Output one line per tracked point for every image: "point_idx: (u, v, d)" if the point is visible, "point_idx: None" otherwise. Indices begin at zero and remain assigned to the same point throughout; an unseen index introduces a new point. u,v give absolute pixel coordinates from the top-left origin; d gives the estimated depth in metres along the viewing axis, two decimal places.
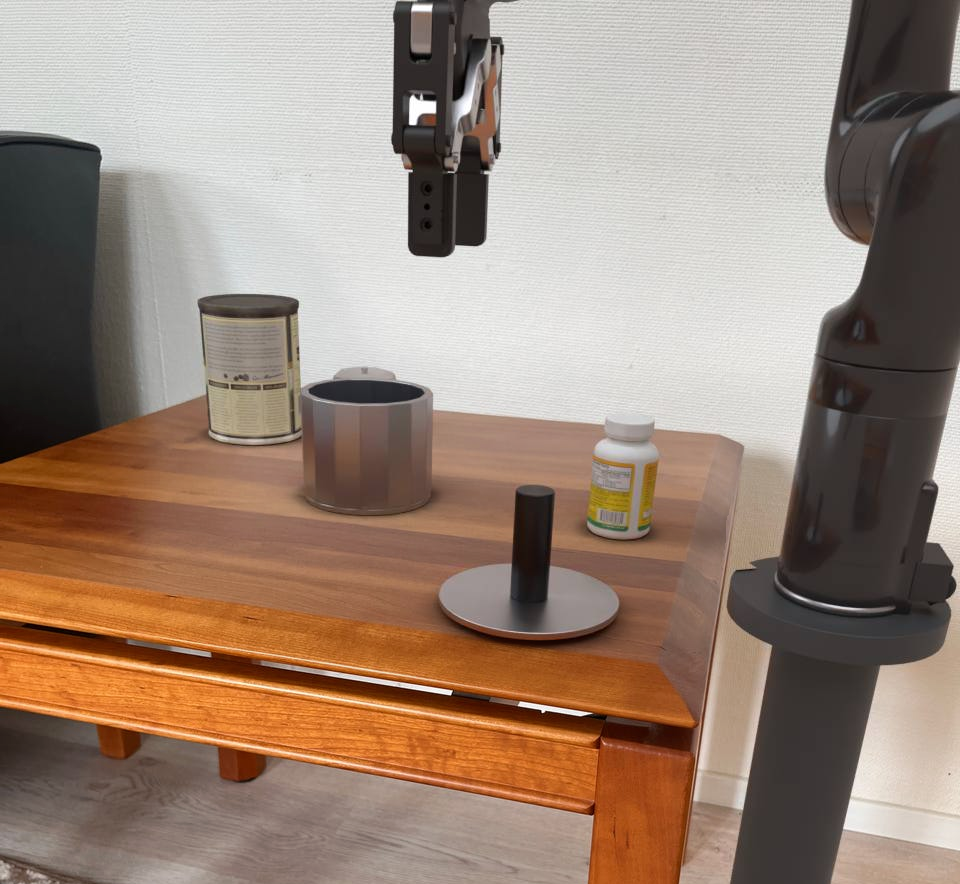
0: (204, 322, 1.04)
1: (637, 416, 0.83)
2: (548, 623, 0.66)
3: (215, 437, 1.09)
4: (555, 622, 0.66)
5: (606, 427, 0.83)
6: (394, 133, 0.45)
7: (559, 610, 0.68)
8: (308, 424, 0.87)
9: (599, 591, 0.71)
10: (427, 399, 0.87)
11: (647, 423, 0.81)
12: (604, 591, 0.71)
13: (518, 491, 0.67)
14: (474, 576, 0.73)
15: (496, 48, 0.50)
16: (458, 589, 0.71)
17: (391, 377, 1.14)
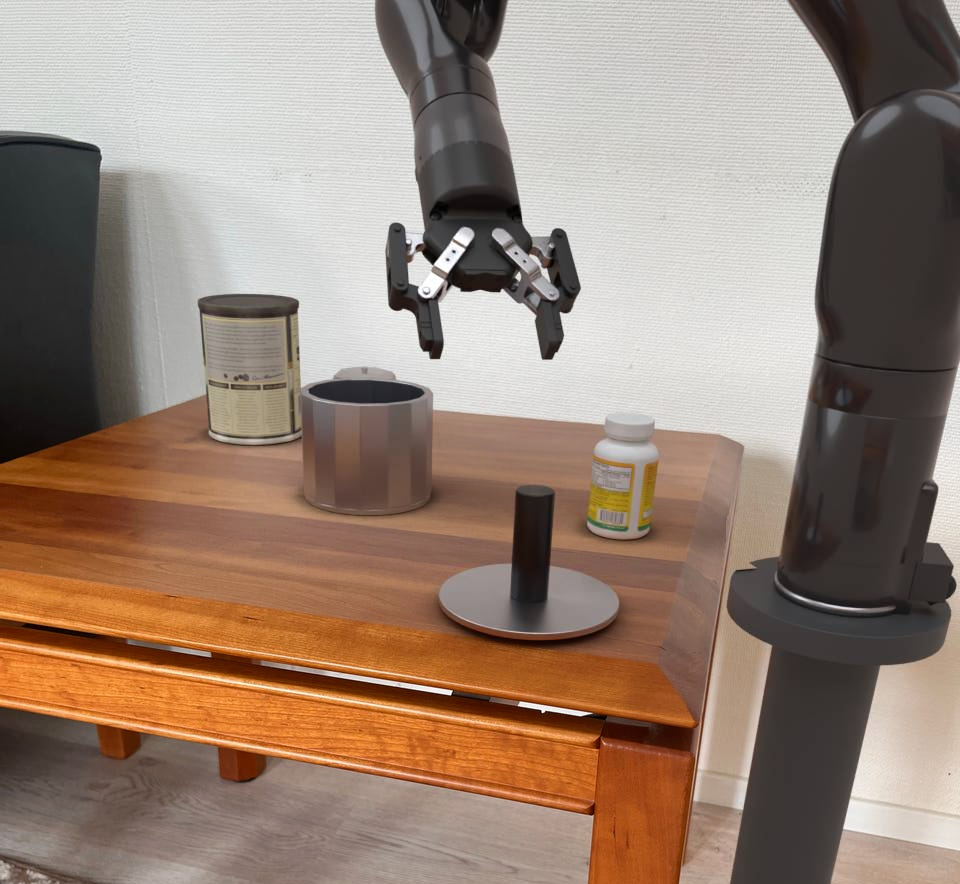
0: (204, 322, 1.04)
1: (637, 416, 0.83)
2: (548, 623, 0.66)
3: (215, 437, 1.09)
4: (555, 622, 0.66)
5: (606, 427, 0.83)
6: (388, 300, 0.75)
7: (559, 610, 0.68)
8: (308, 424, 0.87)
9: (599, 591, 0.71)
10: (427, 399, 0.87)
11: (647, 423, 0.81)
12: (604, 591, 0.71)
13: (518, 491, 0.67)
14: (474, 576, 0.73)
15: (493, 230, 0.75)
16: (458, 589, 0.71)
17: (391, 377, 1.14)
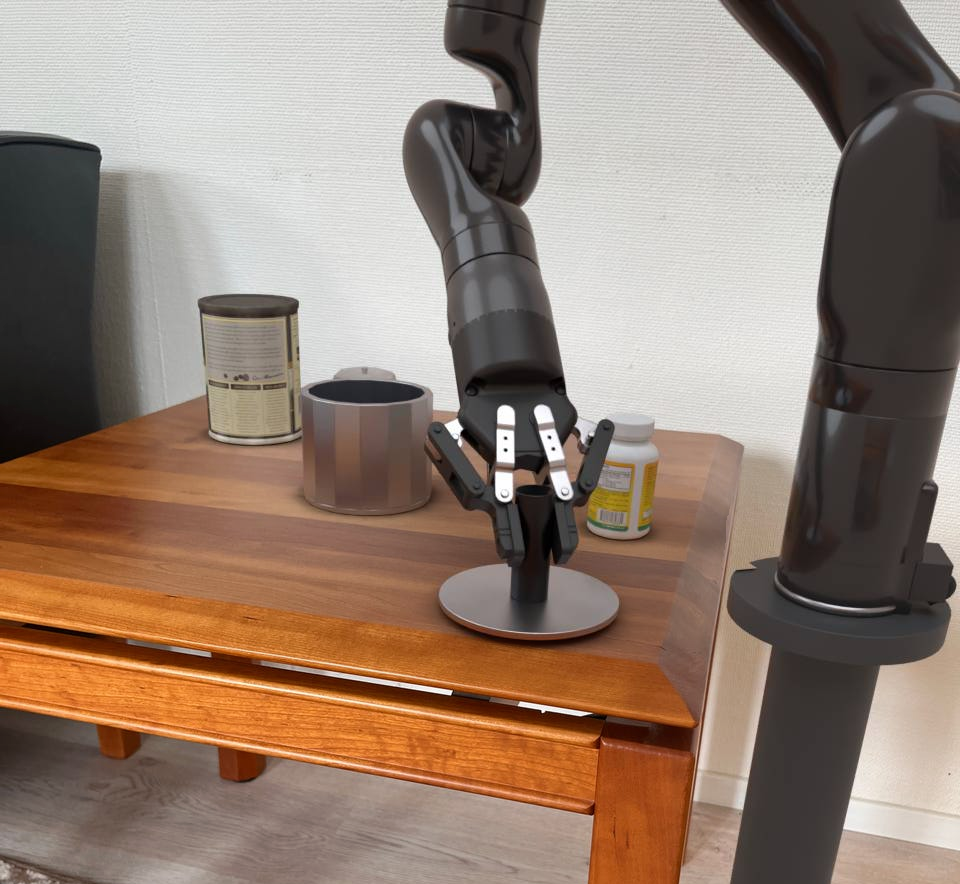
0: (204, 322, 1.04)
1: (637, 416, 0.83)
2: (548, 623, 0.66)
3: (215, 437, 1.09)
4: (555, 622, 0.66)
5: None
6: (461, 504, 0.68)
7: (559, 610, 0.68)
8: (308, 424, 0.87)
9: (599, 591, 0.71)
10: (427, 399, 0.87)
11: (647, 423, 0.81)
12: (604, 591, 0.71)
13: (518, 491, 0.67)
14: (474, 576, 0.73)
15: (538, 405, 0.69)
16: (458, 589, 0.71)
17: (391, 377, 1.14)
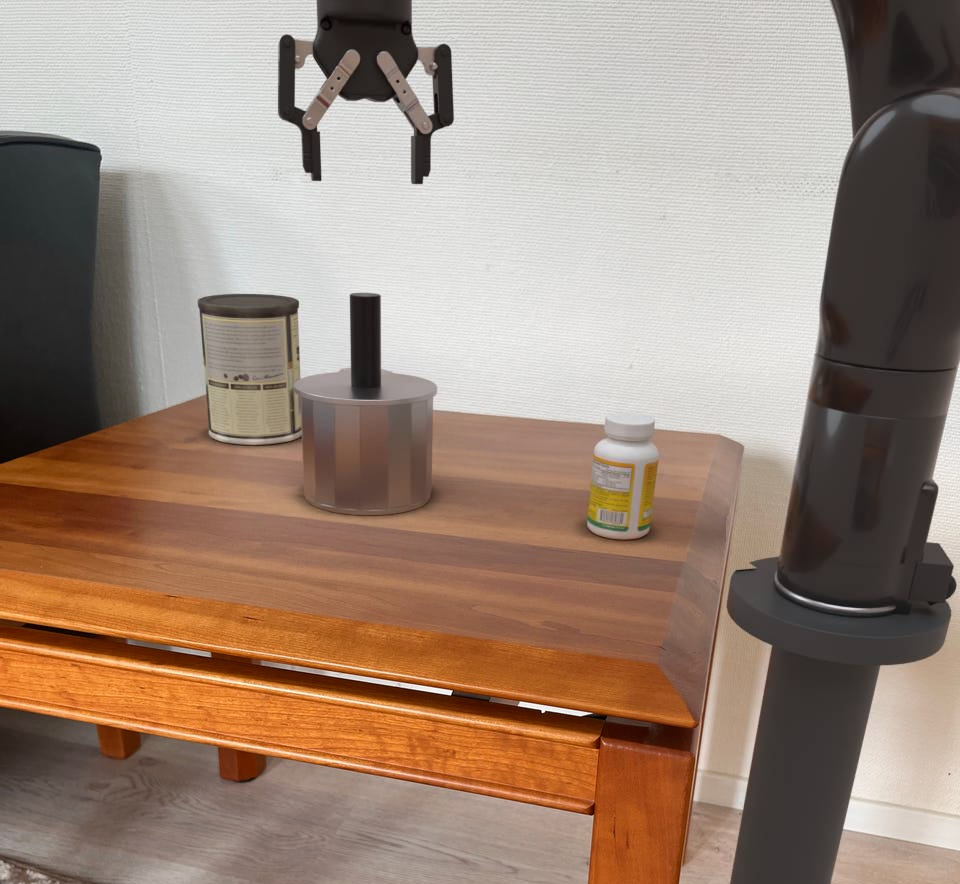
0: (204, 322, 1.04)
1: (637, 416, 0.83)
2: (373, 396, 0.85)
3: (215, 437, 1.09)
4: (379, 396, 0.85)
5: (606, 427, 0.83)
6: None
7: (386, 391, 0.87)
8: (308, 424, 0.87)
9: (424, 384, 0.90)
10: None
11: (647, 423, 0.81)
12: (428, 384, 0.90)
13: (351, 294, 0.85)
14: (327, 376, 0.92)
15: (379, 54, 0.81)
16: (311, 381, 0.89)
17: None
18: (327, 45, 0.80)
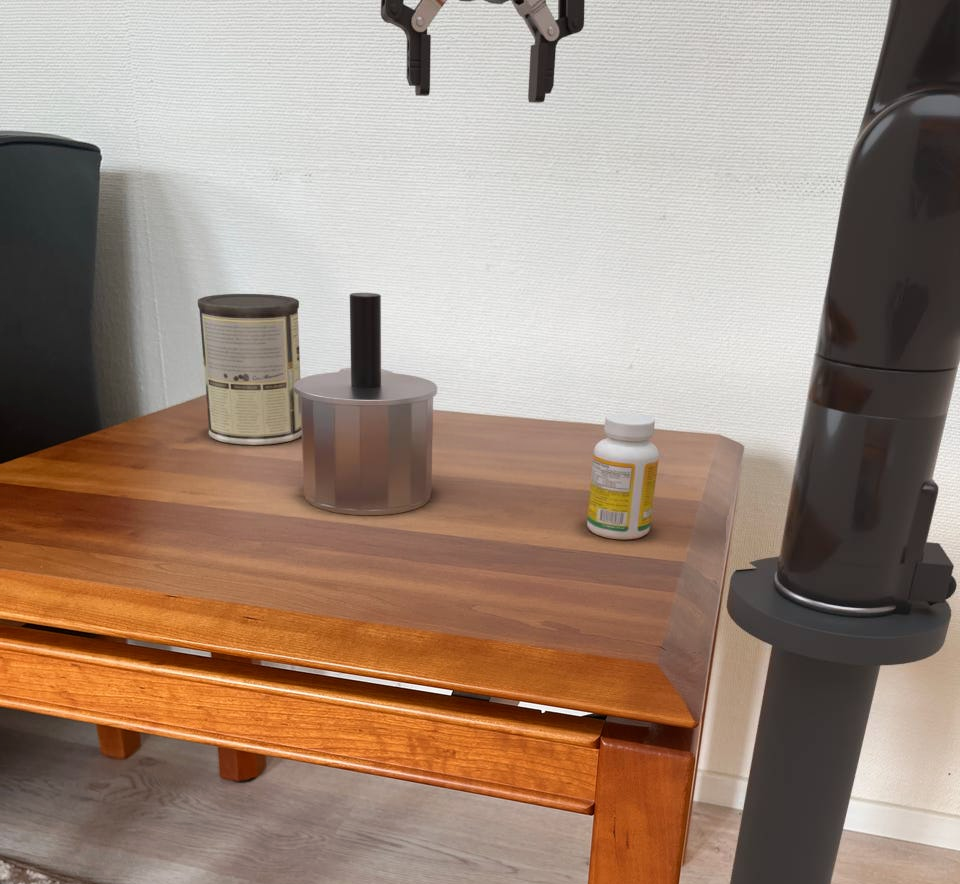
0: (204, 322, 1.04)
1: (637, 416, 0.83)
2: (373, 396, 0.85)
3: (215, 437, 1.09)
4: (379, 396, 0.85)
5: (606, 427, 0.83)
6: None
7: (386, 391, 0.87)
8: (308, 424, 0.87)
9: (424, 384, 0.90)
10: None
11: (647, 423, 0.81)
12: (428, 384, 0.90)
13: (351, 294, 0.85)
14: (327, 376, 0.92)
15: None
16: (311, 381, 0.89)
17: None
18: None
